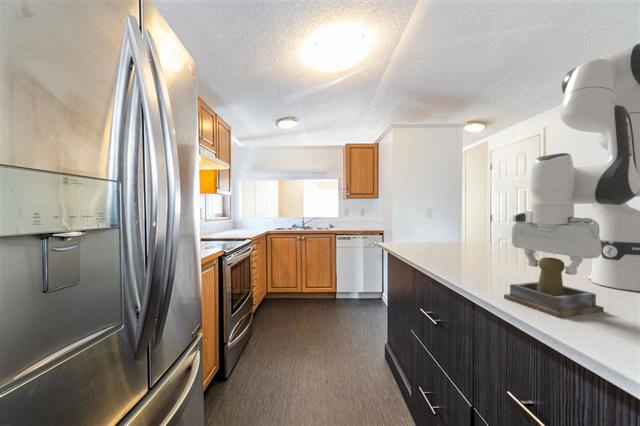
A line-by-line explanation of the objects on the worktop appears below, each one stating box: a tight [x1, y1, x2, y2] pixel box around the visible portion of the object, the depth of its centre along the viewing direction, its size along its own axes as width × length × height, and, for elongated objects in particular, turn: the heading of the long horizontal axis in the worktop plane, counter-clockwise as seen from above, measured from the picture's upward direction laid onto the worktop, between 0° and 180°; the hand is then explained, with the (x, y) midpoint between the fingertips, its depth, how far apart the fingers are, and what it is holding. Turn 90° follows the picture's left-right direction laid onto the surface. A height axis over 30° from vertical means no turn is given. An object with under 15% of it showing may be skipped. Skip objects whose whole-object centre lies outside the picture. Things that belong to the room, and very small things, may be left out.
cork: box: [537, 257, 566, 296], centre depth 75 cm, size 6×6×11 cm
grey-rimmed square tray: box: [503, 281, 604, 318], centre depth 75 cm, size 14×14×4 cm
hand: (551, 269), depth 75 cm, fingers open, 8 cm apart
